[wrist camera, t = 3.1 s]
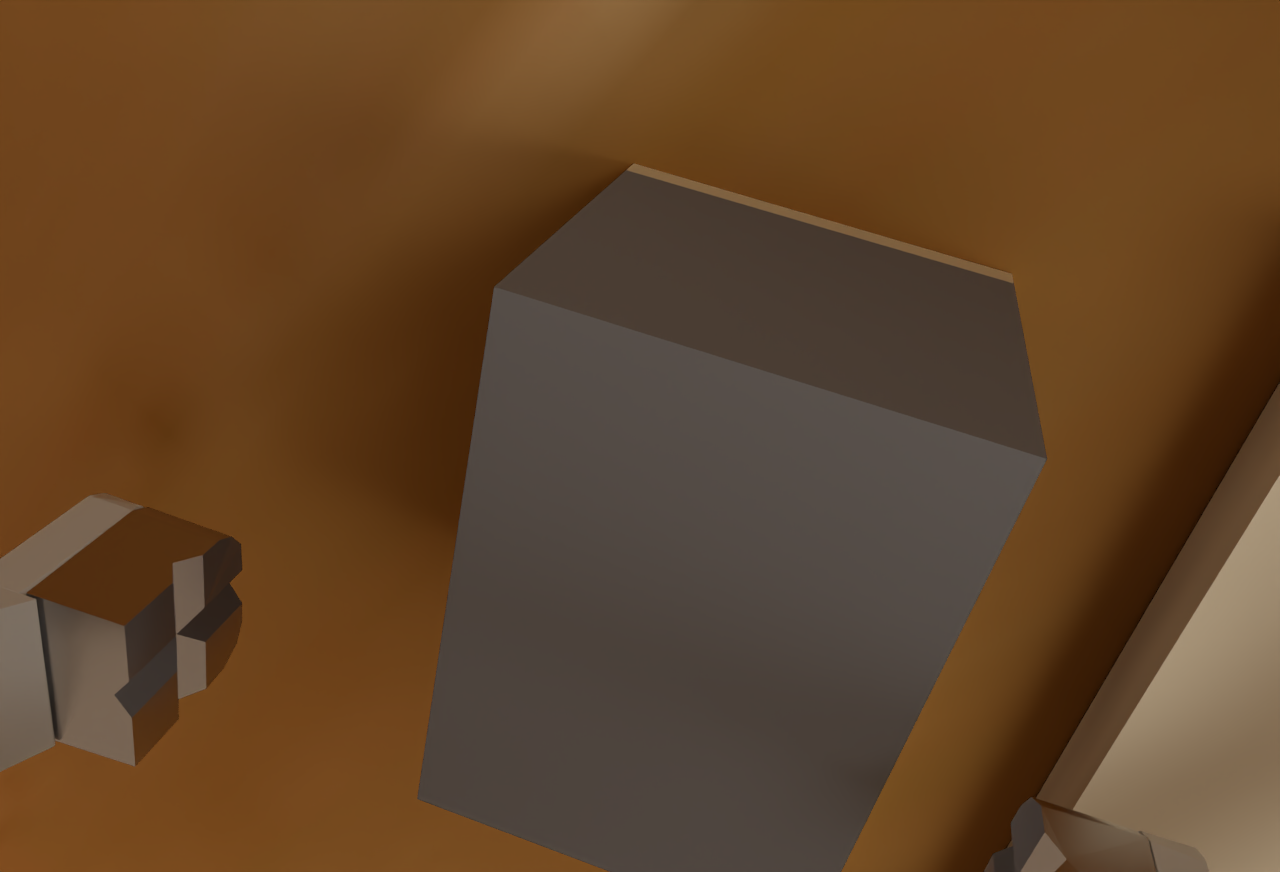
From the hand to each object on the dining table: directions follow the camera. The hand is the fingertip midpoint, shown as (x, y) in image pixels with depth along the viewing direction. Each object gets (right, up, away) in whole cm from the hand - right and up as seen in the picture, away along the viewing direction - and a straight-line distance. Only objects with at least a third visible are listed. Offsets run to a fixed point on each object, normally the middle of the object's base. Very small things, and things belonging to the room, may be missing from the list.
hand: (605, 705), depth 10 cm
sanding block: (+2, +3, +5) cm, 6 cm away
